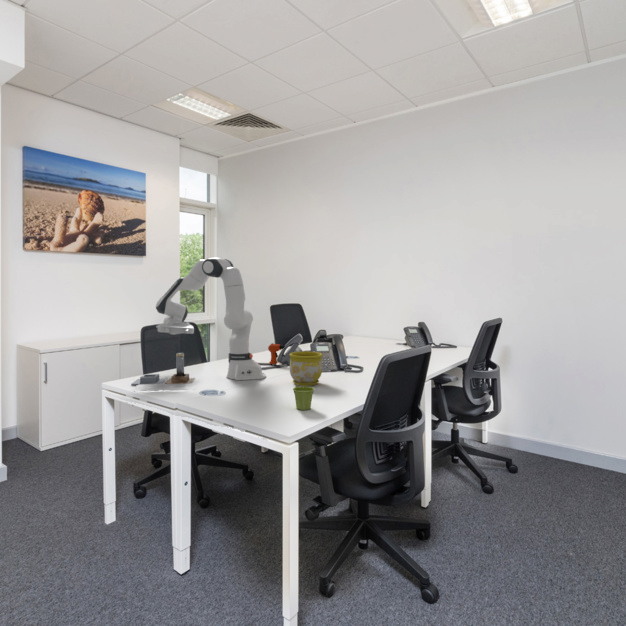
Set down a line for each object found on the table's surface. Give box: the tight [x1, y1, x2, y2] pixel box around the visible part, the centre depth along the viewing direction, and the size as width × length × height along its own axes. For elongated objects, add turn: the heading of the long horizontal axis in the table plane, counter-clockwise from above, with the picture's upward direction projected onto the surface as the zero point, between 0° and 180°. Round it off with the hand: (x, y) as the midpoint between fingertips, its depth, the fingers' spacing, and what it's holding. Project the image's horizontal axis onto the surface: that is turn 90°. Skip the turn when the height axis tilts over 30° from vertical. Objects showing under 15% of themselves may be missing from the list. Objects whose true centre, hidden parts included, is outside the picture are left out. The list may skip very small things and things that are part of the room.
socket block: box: [164, 373, 196, 385], centre depth 235 cm, size 14×14×4 cm
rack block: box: [130, 373, 168, 386], centre depth 233 cm, size 16×12×4 cm
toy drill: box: [267, 343, 286, 364], centre depth 288 cm, size 5×19×15 cm, turn 57°
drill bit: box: [175, 352, 185, 376], centre depth 235 cm, size 4×4×15 cm
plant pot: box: [292, 386, 315, 411], centre depth 187 cm, size 9×9×9 cm
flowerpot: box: [289, 351, 323, 387], centre depth 235 cm, size 18×18×16 cm
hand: (178, 331), depth 244 cm, fingers open, 8 cm apart
